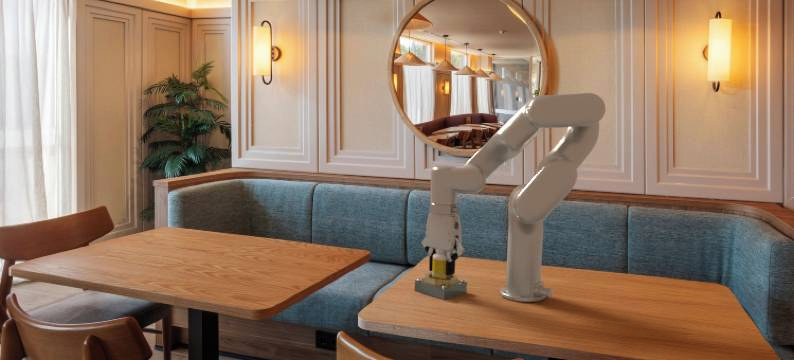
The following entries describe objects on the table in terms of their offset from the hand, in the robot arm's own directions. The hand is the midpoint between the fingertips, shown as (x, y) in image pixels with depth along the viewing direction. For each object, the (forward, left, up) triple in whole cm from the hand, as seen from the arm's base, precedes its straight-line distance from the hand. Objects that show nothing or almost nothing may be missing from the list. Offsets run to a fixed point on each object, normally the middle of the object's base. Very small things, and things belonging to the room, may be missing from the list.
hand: (441, 271), depth 169 cm
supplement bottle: (0, 0, -3) cm, 3 cm away
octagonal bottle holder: (0, 0, -6) cm, 6 cm away
